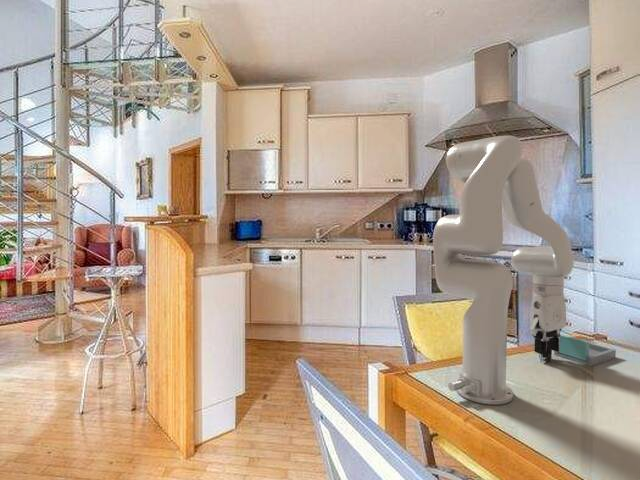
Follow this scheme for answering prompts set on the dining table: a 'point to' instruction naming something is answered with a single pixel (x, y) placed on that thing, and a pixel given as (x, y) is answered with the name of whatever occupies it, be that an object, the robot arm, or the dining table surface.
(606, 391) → the dining table surface
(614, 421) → the dining table surface
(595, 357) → the tray
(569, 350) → the clamp jaw
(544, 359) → the push button
